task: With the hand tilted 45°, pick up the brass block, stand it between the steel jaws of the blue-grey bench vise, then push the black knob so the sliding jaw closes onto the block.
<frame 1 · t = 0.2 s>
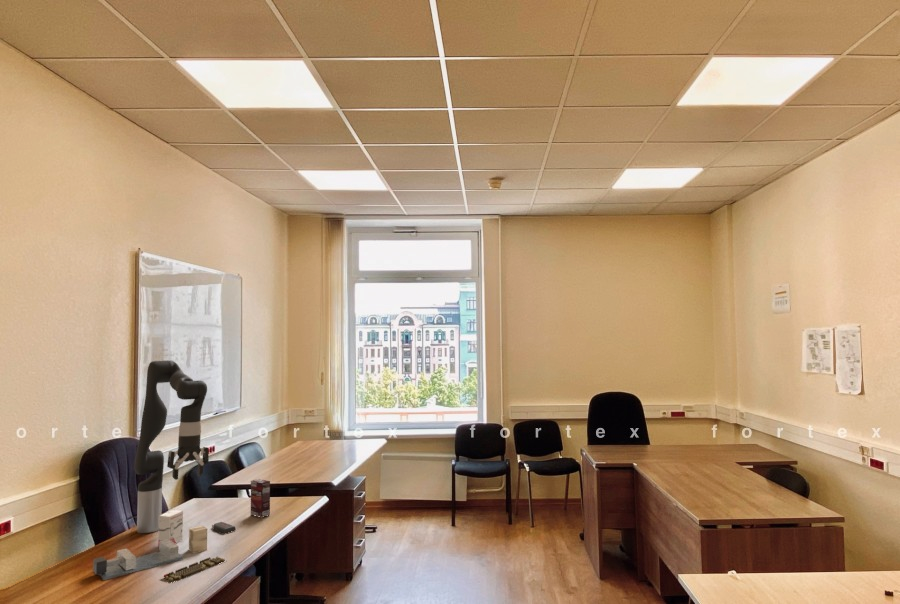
hand: (187, 477, 206), 29 cm above the table, tool pointing down, fingers open, 8 cm apart
free jaw: (113, 562, 191), point 3 cm above the table, slide at 0.0 cm
keyboard: (193, 572, 190), on the table
usb drive: (222, 531, 233), on the table
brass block: (197, 549, 210), on the table
ink box: (170, 543, 218), on the table
vise base: (140, 564, 196), on the table
supplement box: (260, 516, 252), on the table
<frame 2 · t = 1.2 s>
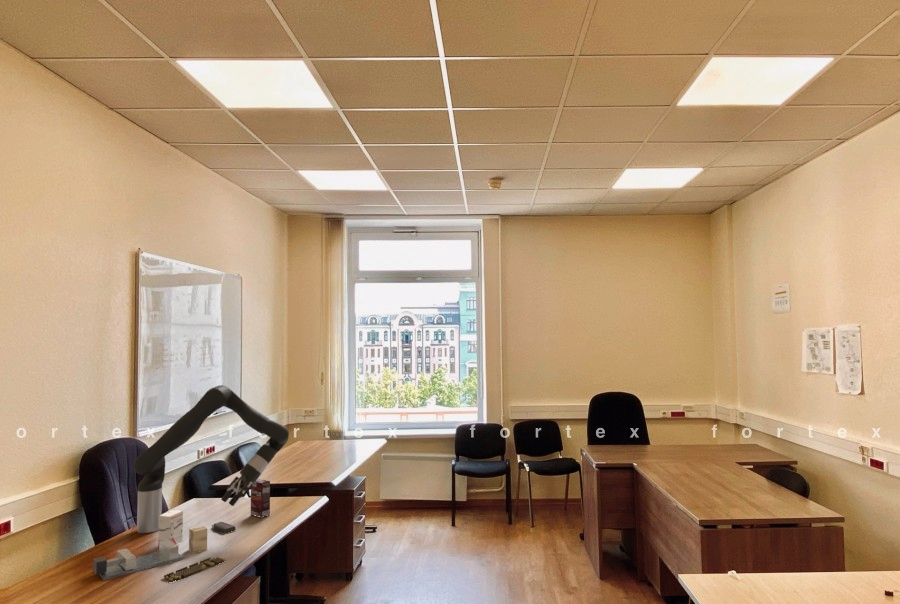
hand: (226, 502, 218), 15 cm above the table, tool tilted 45°, fingers open, 8 cm apart
nothing on the table moved.
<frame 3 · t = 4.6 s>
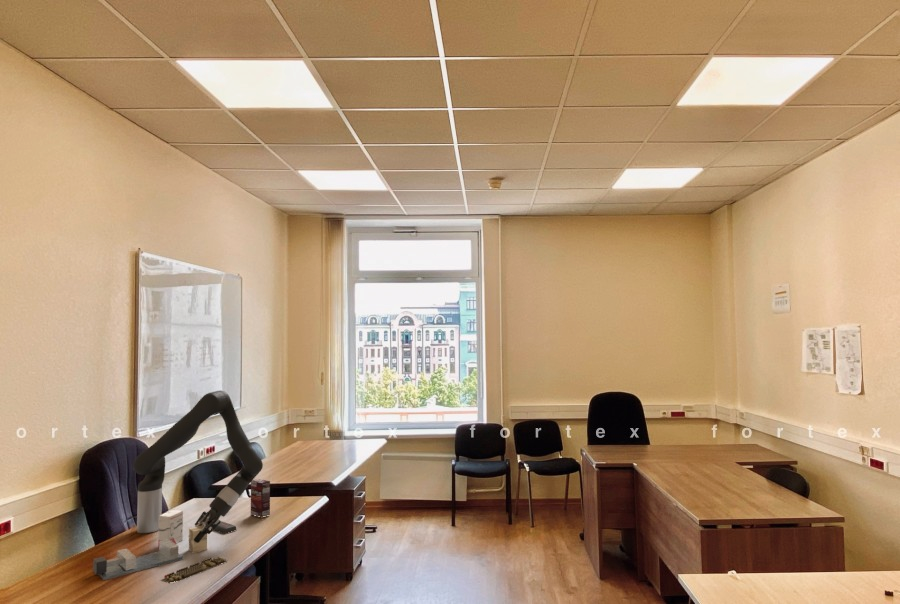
hand: (193, 539, 209), 4 cm above the table, tool tilted 45°, fingers closed on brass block, 5 cm apart
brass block: (197, 549, 210), on the table, touching gripper
when the fingers open (7 cm above the table, at t = 9.7 s): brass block drops 1 cm, resting on vise base.
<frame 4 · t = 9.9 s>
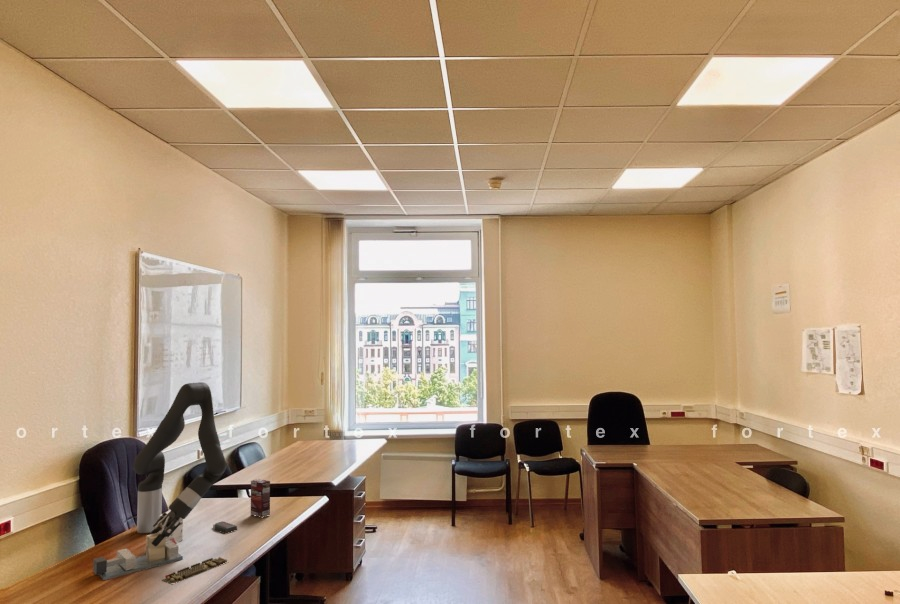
hand: (150, 542, 199), 7 cm above the table, tool tilted 45°, fingers open, 6 cm apart
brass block: (155, 557, 200), point 1 cm above the table, touching vise base
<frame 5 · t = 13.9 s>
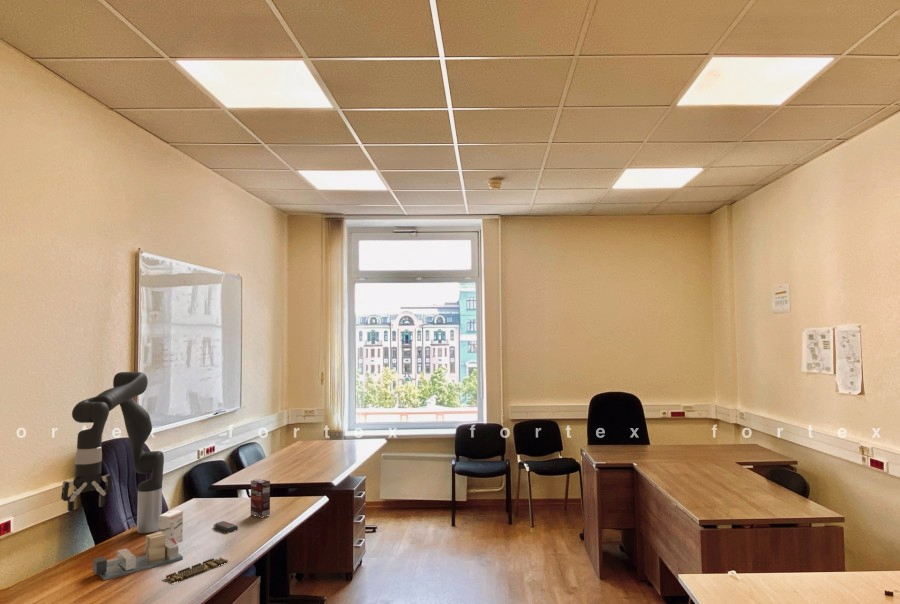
hand: (86, 509, 185), 23 cm above the table, tool pointing down, fingers open, 8 cm apart
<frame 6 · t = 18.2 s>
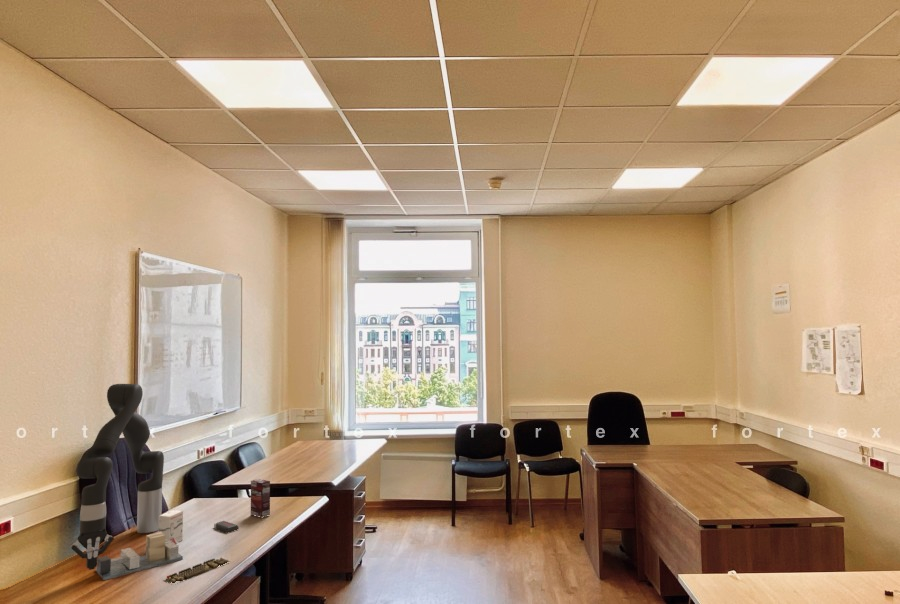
hand: (91, 568, 186), 3 cm above the table, tool pointing down, fingers closed
free jaw: (117, 561, 191), point 3 cm above the table, slide at 1.2 cm, touching gripper
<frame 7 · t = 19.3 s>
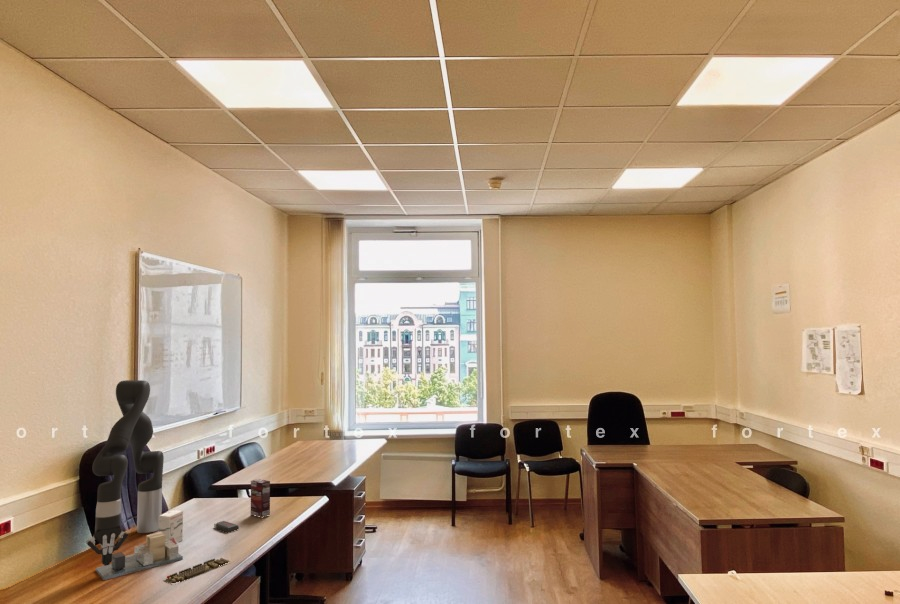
hand: (106, 564, 189), 3 cm above the table, tool pointing down, fingers closed
free jaw: (131, 557, 194), point 3 cm above the table, slide at 5.6 cm, touching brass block, gripper
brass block: (155, 557, 200), point 1 cm above the table, touching free jaw, vise base
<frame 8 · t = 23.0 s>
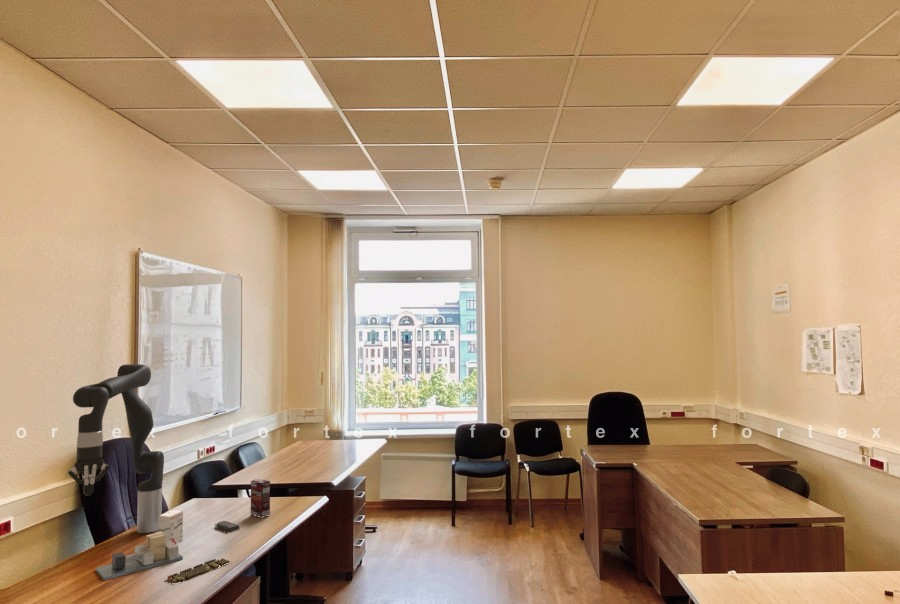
hand: (88, 495, 190), 27 cm above the table, tool pointing down, fingers closed
free jaw: (131, 557, 194), point 3 cm above the table, slide at 5.7 cm, touching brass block
at the end: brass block 0.4 cm from the target spot on the vise base, point 1.0 cm above the vise base's base; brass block tilted 0°; free jaw slide at 5.7 cm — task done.
